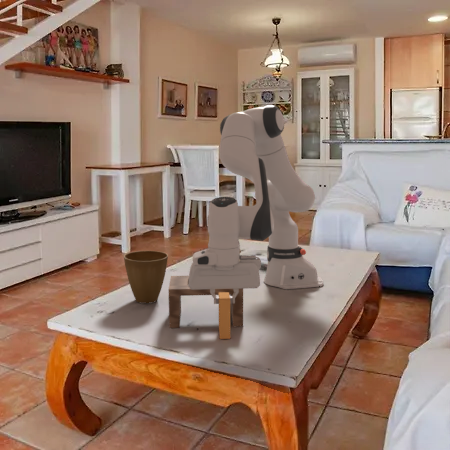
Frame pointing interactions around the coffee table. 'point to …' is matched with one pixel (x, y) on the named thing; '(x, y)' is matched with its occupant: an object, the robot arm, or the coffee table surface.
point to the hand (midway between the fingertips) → (224, 303)
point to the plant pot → (146, 274)
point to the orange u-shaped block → (224, 315)
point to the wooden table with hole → (181, 288)
